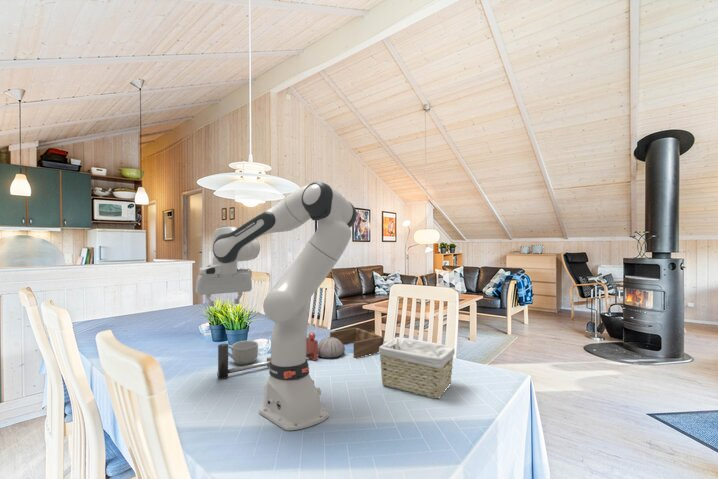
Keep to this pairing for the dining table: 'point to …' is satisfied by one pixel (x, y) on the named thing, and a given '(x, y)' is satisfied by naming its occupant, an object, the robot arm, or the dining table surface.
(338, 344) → the sea urchin shell
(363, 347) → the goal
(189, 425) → the dining table surface
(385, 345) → the storage basket
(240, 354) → the teacup
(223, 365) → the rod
